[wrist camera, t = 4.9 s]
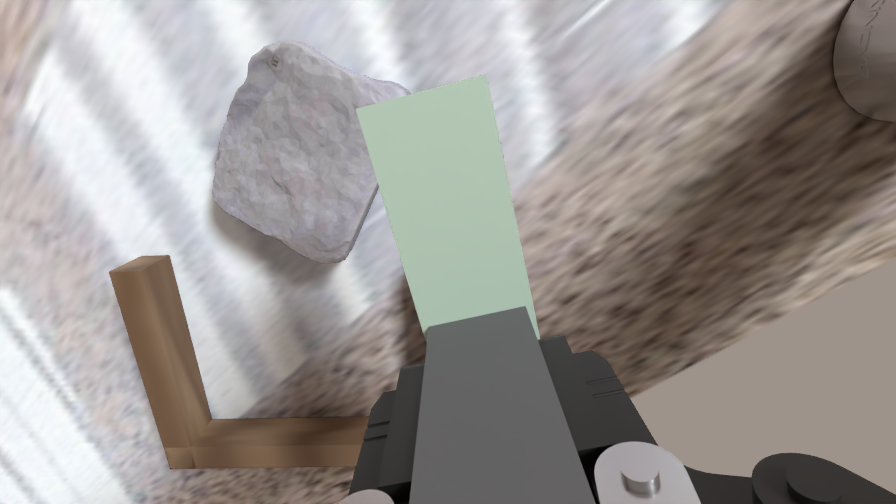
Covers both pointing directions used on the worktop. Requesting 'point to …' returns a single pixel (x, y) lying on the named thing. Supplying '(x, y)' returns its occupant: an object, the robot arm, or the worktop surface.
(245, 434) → the wooden u-shaped frame
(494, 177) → the board
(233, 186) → the stone block
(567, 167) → the worktop surface
